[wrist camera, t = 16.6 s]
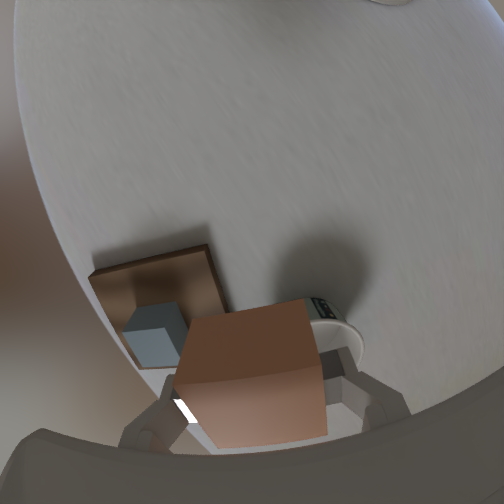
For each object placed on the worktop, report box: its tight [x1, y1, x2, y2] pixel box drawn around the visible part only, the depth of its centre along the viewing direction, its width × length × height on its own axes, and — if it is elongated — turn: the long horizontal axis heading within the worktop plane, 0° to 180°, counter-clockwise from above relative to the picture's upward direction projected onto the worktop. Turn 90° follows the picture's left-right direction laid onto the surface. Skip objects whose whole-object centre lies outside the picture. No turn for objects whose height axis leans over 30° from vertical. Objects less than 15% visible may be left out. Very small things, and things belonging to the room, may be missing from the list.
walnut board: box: [88, 244, 230, 370], centre depth 33 cm, size 16×16×2 cm
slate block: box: [122, 301, 189, 367], centre depth 29 cm, size 6×6×5 cm
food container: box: [303, 298, 365, 367], centre depth 31 cm, size 12×12×6 cm
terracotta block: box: [172, 298, 328, 449], centre depth 11 cm, size 5×5×4 cm
